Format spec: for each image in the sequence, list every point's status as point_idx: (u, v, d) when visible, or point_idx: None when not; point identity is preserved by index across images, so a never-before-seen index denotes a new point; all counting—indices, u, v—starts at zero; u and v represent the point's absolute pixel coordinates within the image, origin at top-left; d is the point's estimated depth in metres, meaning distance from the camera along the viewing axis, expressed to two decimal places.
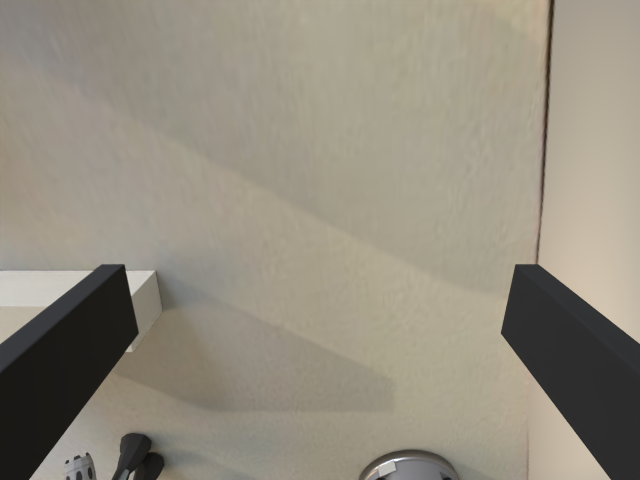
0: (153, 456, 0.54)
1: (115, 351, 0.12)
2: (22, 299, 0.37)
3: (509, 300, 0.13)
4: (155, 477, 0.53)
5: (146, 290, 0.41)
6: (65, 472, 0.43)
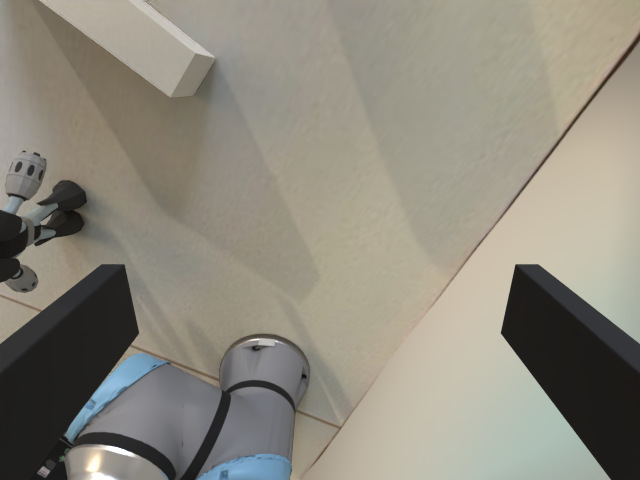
0: (77, 216, 0.54)
1: (115, 351, 0.12)
2: None
3: (509, 300, 0.13)
4: (70, 232, 0.52)
5: (204, 64, 0.44)
6: (19, 158, 0.42)
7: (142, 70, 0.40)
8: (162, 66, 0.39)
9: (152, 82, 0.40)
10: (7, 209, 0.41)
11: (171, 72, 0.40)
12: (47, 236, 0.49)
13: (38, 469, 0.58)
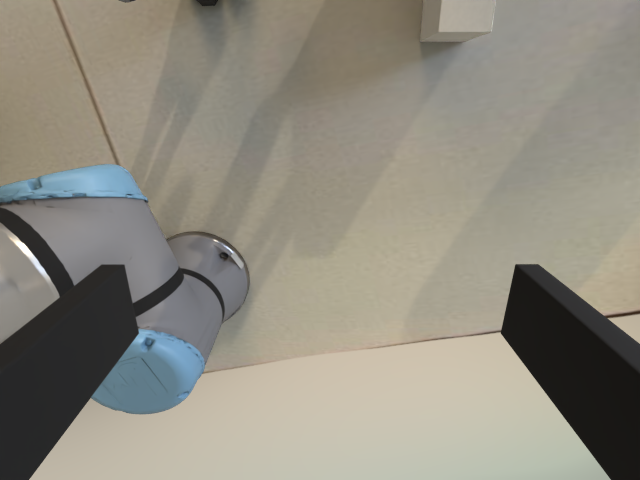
0: None
1: (115, 351, 0.12)
2: None
3: (509, 301, 0.13)
4: None
5: (464, 38, 0.43)
6: None
7: None
8: (463, 8, 0.38)
9: (442, 6, 0.38)
10: None
11: (462, 19, 0.38)
12: None
13: None
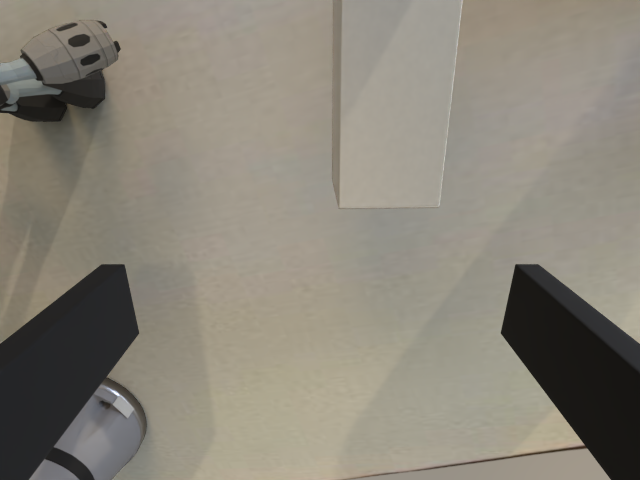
0: (62, 108, 0.34)
1: (115, 351, 0.12)
2: None
3: (509, 300, 0.13)
4: (32, 120, 0.32)
5: None
6: (92, 30, 0.24)
7: (351, 140, 0.19)
8: (383, 169, 0.20)
9: (343, 167, 0.20)
10: (0, 72, 0.22)
11: (382, 188, 0.20)
12: (1, 109, 0.29)
13: None
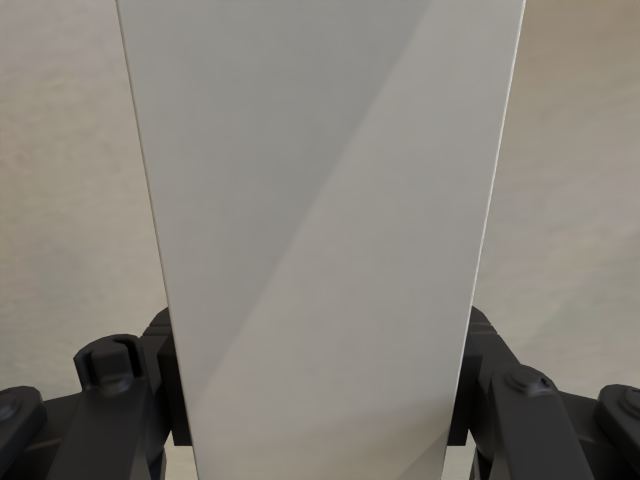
0: None
1: None
2: None
3: None
4: None
5: None
6: None
7: (217, 434, 0.08)
8: None
9: (206, 478, 0.08)
10: None
11: None
12: None
13: None
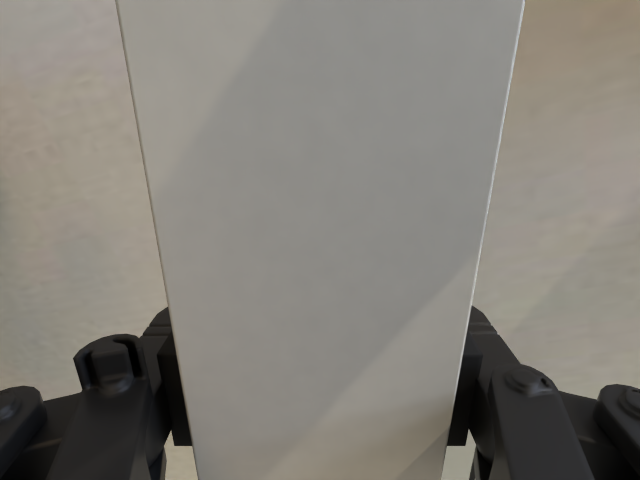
0: None
1: None
2: None
3: None
4: None
5: None
6: None
7: (217, 434, 0.08)
8: None
9: (206, 478, 0.08)
10: None
11: None
12: None
13: None
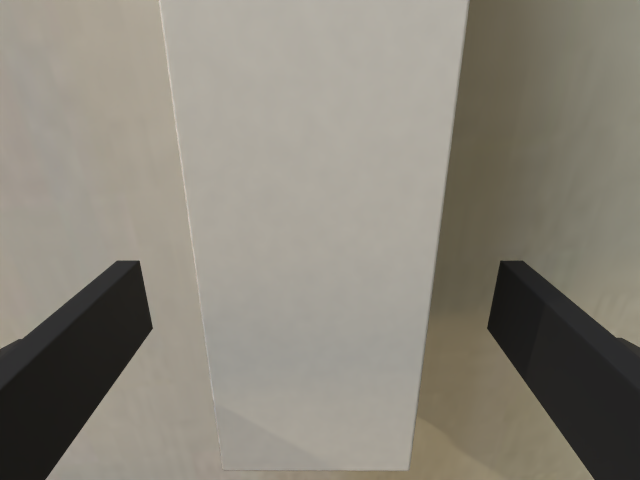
0: None
1: (131, 345, 0.12)
2: None
3: (494, 296, 0.13)
4: None
5: None
6: None
7: (232, 373, 0.10)
8: (299, 416, 0.10)
9: (221, 413, 0.10)
10: None
11: (300, 443, 0.11)
12: None
13: None
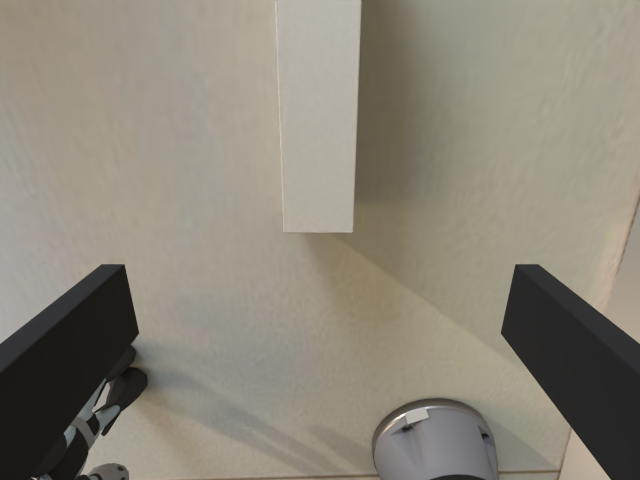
0: (135, 371, 0.44)
1: (115, 351, 0.12)
2: None
3: (509, 301, 0.13)
4: (135, 396, 0.43)
5: None
6: None
7: (290, 188, 0.28)
8: (312, 206, 0.29)
9: (285, 205, 0.29)
10: None
11: (313, 219, 0.29)
12: (111, 417, 0.39)
13: None
